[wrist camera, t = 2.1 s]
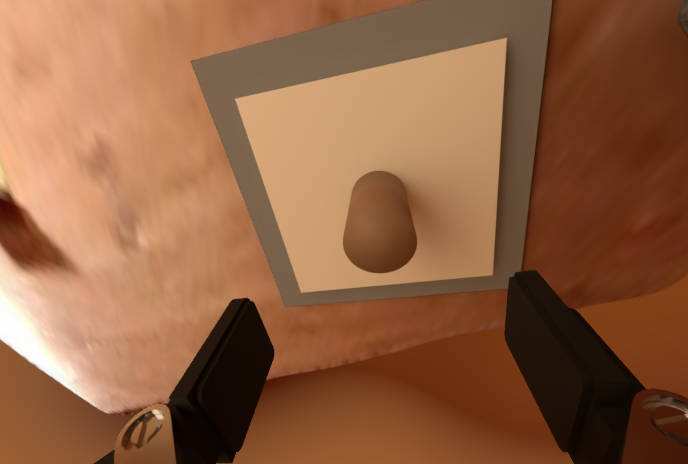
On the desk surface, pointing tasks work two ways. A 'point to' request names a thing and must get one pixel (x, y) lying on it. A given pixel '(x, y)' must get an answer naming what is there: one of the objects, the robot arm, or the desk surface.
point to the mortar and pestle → (683, 16)
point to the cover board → (385, 169)
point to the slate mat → (373, 51)
